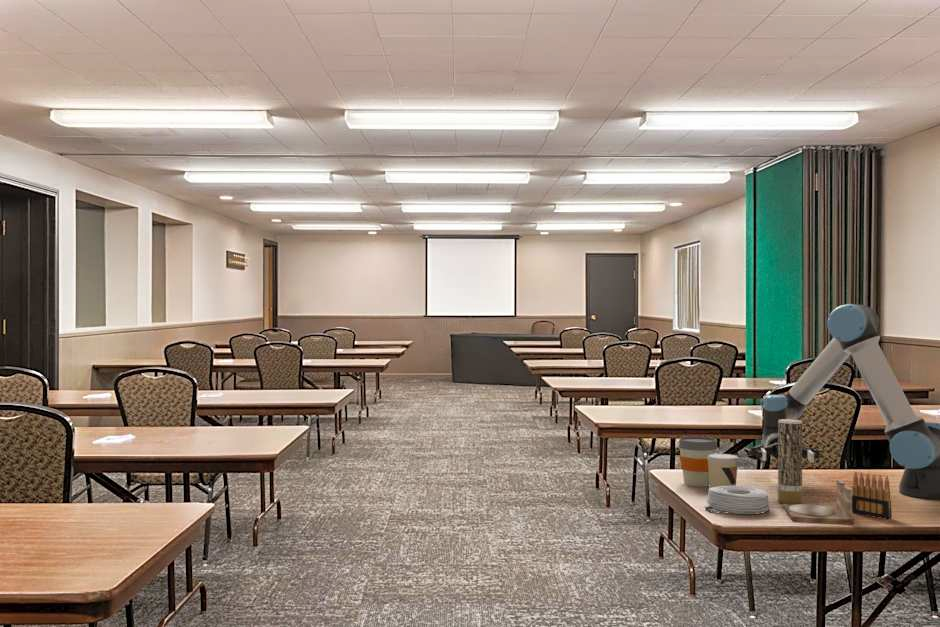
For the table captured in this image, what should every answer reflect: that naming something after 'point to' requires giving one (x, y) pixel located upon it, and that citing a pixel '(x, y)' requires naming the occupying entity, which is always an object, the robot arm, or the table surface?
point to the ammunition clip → (871, 497)
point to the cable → (737, 500)
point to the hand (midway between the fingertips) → (788, 457)
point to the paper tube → (790, 461)
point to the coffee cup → (722, 470)
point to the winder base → (825, 509)
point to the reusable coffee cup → (696, 459)
